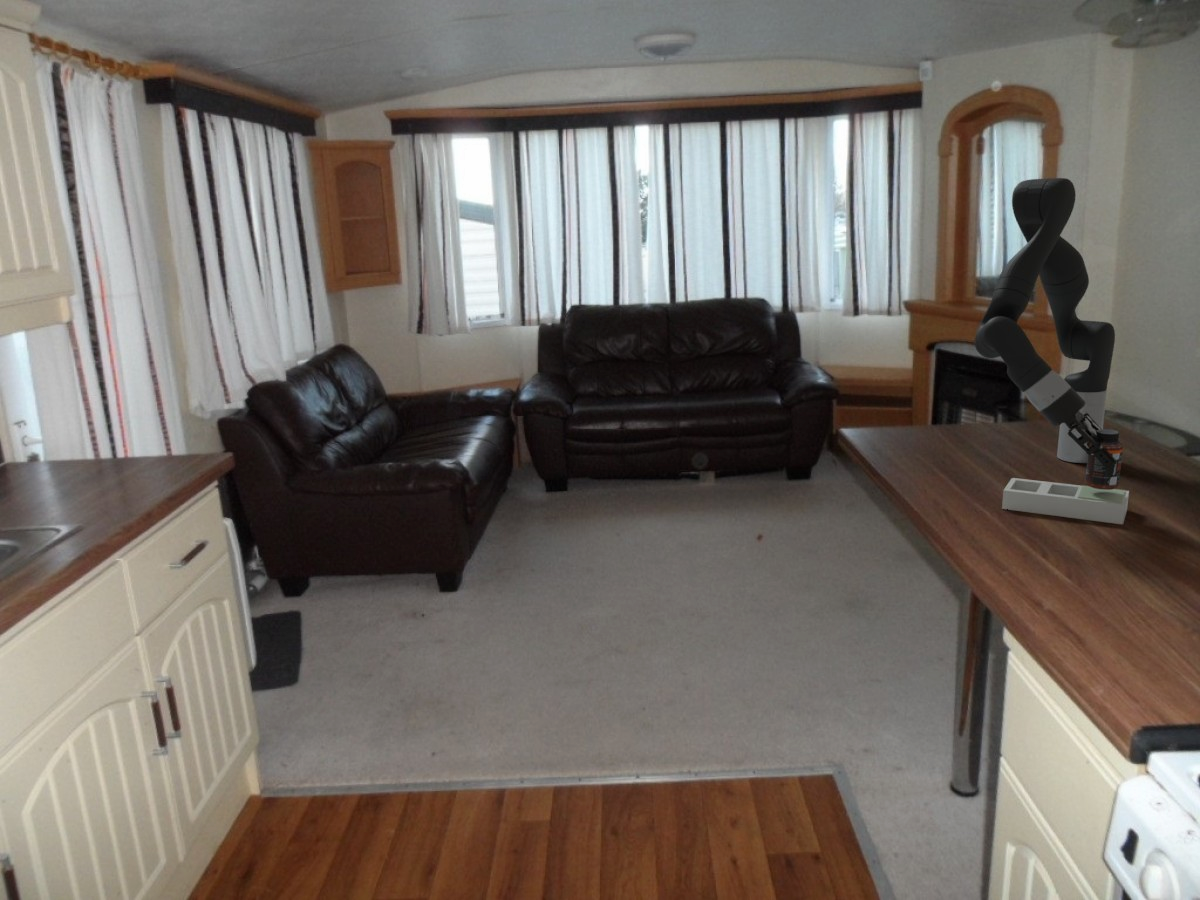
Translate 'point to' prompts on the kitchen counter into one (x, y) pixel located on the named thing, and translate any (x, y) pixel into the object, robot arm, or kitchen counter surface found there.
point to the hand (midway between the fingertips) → (1114, 461)
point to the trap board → (1066, 500)
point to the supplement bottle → (1097, 471)
